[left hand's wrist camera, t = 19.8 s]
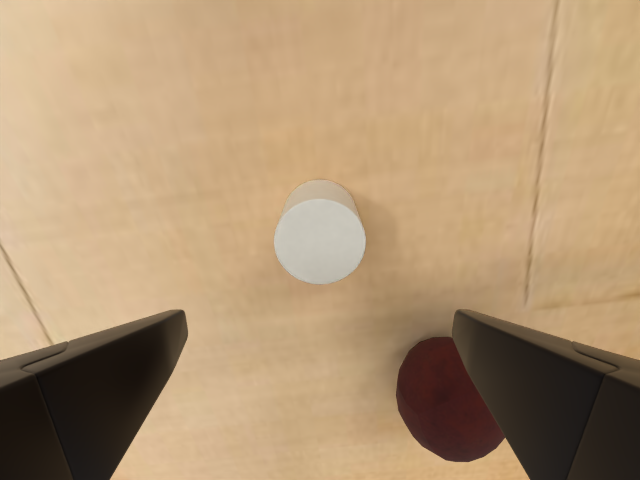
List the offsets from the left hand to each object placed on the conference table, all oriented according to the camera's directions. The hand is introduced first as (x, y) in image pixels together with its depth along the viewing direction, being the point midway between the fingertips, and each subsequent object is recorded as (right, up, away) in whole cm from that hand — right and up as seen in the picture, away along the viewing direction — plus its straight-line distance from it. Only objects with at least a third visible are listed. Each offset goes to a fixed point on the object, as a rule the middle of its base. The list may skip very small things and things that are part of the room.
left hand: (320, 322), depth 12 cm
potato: (+9, -6, +15) cm, 19 cm away
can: (0, +4, +11) cm, 12 cm away
